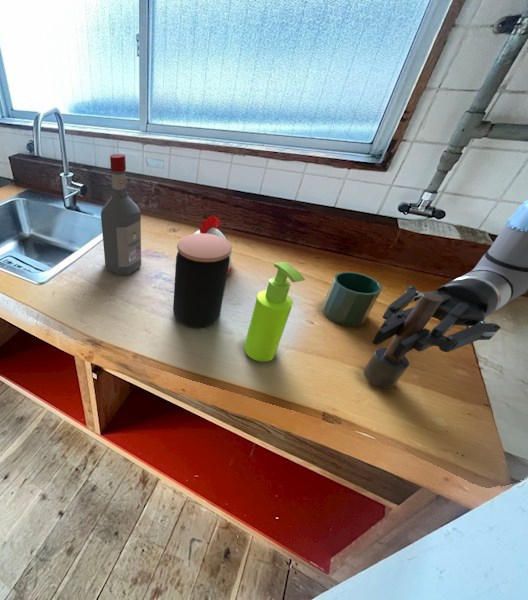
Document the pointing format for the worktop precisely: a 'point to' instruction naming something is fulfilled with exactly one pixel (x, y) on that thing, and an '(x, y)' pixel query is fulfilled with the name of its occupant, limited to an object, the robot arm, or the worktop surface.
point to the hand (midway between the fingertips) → (387, 344)
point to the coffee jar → (200, 278)
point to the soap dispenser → (271, 314)
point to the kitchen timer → (212, 230)
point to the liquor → (121, 224)
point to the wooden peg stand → (382, 363)
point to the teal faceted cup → (350, 298)
